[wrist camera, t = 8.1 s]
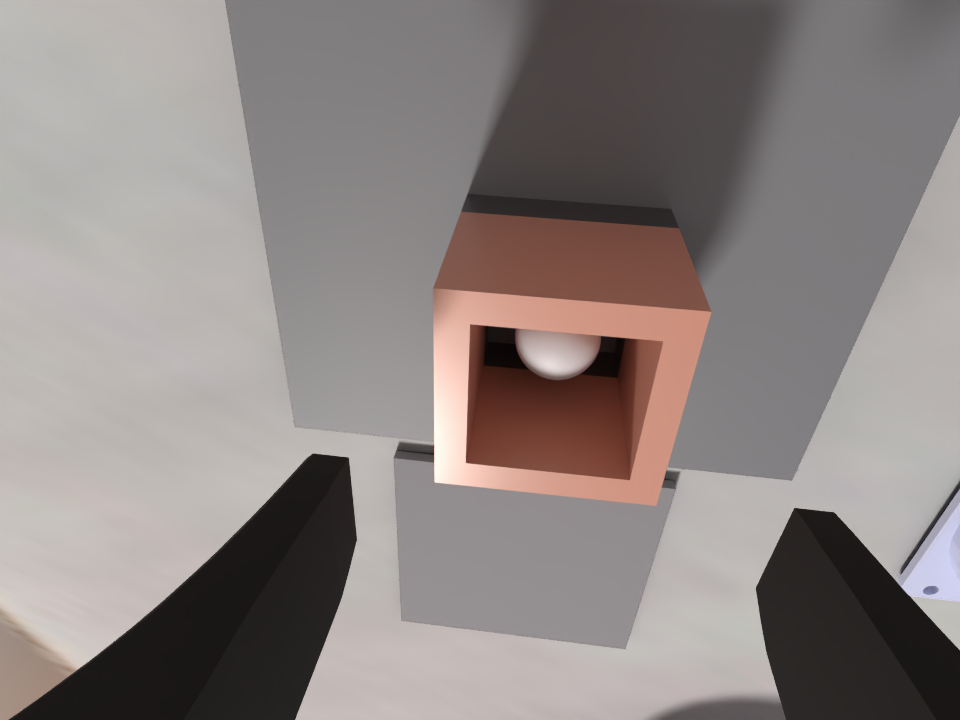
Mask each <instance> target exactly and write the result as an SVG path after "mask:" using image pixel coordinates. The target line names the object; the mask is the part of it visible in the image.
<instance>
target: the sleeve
mask: <svg viewBox="0 0 960 720" xmlns="http://www.w3.org/2000/svg"><path fill="white" fill-rule="evenodd" d="M710 315H711V309H710V307H709V304H708V302H707V299H706V296H705V294H704V291H703V289H702V286H701V284H700V281H699V278H698V276H697V273H696V271H695V268H694V265H693V263H692V260H691V258H690V255H689V253H688V250H687V247H686V245H685V242H684V240H683V237H682V235H681V232H680V229H679V227H678V224H677V222H676V219H675V216H674V214H673V211H672V209H664V208H651V207H637V206H623V205H610V204H596V203H583V202H569V201H556V200H542V199H529V198H515V197H502V196H488V195H474V194H467V197H466V199H465V202H464V205H463V208H462V210H461V213H460V216H459V219H458V221H457V224H456V227H455V230H454V232H453V235H452V238H451V241H450V243H449V246H448V249H447V252H446V254H445V257H444V260H443V263H442V265H441V268H440V271H439V274H438V276H437V279H436V282H435V285H434V287H433V334H434V474H435V483H445V484H454V485H464V486H473V487H482V488H492V489H501V490H511V491H520V492H529V493H539V494H548V495H558V496H567V497H576V498H586V499H595V500H605V501H614V502H623V503H633V504H642V505H652V506H656V505H657V502H658V498H659V495H660V491H661V488H662V484H663V481H664V477H665V474H666V470H667V467H668V463H669V460H670V456H671V452H672V449H673V445H674V442H675V438H676V435H677V431H678V428H679V424H680V421H681V417H682V414H683V410H684V407H685V403H686V400H687V396H688V393H689V389H690V386H691V382H692V379H693V375H694V372H695V368H696V365H697V361H698V357H699V354H700V350H701V347H702V343H703V340H704V336H705V333H706V329H707V326H708V322H709V319H710ZM489 326H495V327H507V328H518V329H529V330H541V331H552V332H563V333H575V334H586V335H597V336H609V337H618V338H617V343H616V348H615V353H609V352H598V354H597V356H596V358H595V360H594V361H593V363H592V364H591V365H590V366H589V367H588V368H587V369H586V370H585V371H584V372H582V373H581V374H579V375H577V376H575V377H573V378H570V379H565V380H550V379H546V378H543V377H541V376H538V375H536V374H535V373H533V372H532V371H531V370H530V369H528V368H527V367H526V365H525V364H524V363H523V362H522V360H521V358H520V356H519V354H518V352H517V348H516V344H509V343H498V342H488V331H489Z"/></svg>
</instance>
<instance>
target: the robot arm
mask: <svg viewBox="0 0 960 720" xmlns="http://www.w3.org/2000/svg"><path fill="white" fill-rule="evenodd" d="M356 541H357V536H356V526H355V516H354V506H353V496H352V486H351V476H350V466H349V458H347V457H338V456H329V455H321V454H312V455H311V456H309V457H308V458H307V459H306V460H305V461H304V462H303V463H302V464H301V465H300V466H299V467H298V468H297V470H296V471H295V472H294V473H293V474H292V475H291V476H290V477H289V478H288V479H287V480H286V482H285V483H284V484H283V485H282V486H281V487H280V488H279V489H278V490H277V491H276V492H275V493H274V494H273V496H272V497H271V498H270V499H269V500H268V501H267V502H266V503H265V504H264V505H263V506H262V507H261V508H260V509H259V510H258V511H257V512H256V513H255V514H254V515H253V516H252V517H251V518H250V519H249V520H248V521H247V522H246V523H245V524H244V525H243V526H242V527H241V528H240V529H239V530H238V531H237V532H236V533H235V534H234V535H233V536H232V537H231V538H230V539H229V540H228V541H227V542H226V543H225V544H224V545H223V546H222V547H221V548H220V549H219V550H218V551H217V552H216V553H215V554H214V555H213V556H212V557H211V558H210V559H209V560H208V561H207V562H206V563H205V564H203V565H202V566H201V567H200V568H199V569H198V570H197V571H196V572H195V573H194V574H192V575H191V576H190V577H189V578H188V579H187V580H186V581H185V582H184V583H183V584H181V585H180V586H179V587H178V588H177V589H176V590H175V591H174V592H173V593H172V594H170V595H169V596H168V597H167V598H166V599H165V600H164V601H163V602H161V603H160V604H159V605H158V606H157V607H156V608H154V609H153V610H152V611H151V612H150V613H149V614H147V615H146V616H145V617H144V618H143V619H142V620H140V621H139V622H138V623H137V624H135V625H134V626H133V627H132V628H131V629H129V630H128V631H127V632H126V633H125V634H123V635H122V636H121V637H119V638H118V639H117V640H116V641H114V642H113V643H112V644H111V645H109V646H108V647H107V648H106V649H104V650H103V651H102V652H101V653H99V654H98V655H97V656H95V657H94V658H93V659H92V660H90V661H89V662H88V663H86V664H85V665H84V666H82V667H81V668H79V669H78V670H77V671H75V672H74V673H73V674H71V675H70V676H69V677H67V678H66V679H65V680H63V681H62V682H61V683H59V684H58V685H57V686H55V687H54V688H53V689H51V690H50V691H49V692H47V693H46V694H44V695H43V696H42V697H40V698H39V699H38V700H36V701H35V702H33V703H32V704H31V705H29V706H28V707H26V708H25V709H23V710H22V711H21V712H19V713H18V714H16V715H15V716H13V717H12V718H10V719H9V720H295V718H296V716H297V713H298V710H299V708H300V705H301V703H302V700H303V697H304V695H305V692H306V690H307V687H308V685H309V682H310V679H311V677H312V674H313V672H314V669H315V666H316V664H317V661H318V659H319V656H320V654H321V651H322V648H323V646H324V643H325V641H326V638H327V635H328V633H329V630H330V627H331V625H332V622H333V619H334V617H335V614H336V612H337V609H338V606H339V604H340V601H341V598H342V595H343V591H344V587H345V584H346V580H347V576H348V572H349V569H350V565H351V561H352V557H353V553H354V549H355V545H356ZM756 592H757V598H758V605H759V612H760V618H761V624H762V630H763V635H764V641H765V646H766V652H767V655H768V659H769V662H770V666H771V670H772V673H773V676H774V680H775V683H776V687H777V690H778V693H779V697H780V700H781V704H782V707H783V710H784V714H785V717H786V720H960V650H959V649H958V648H957V647H956V646H955V645H954V644H953V643H952V642H951V641H950V640H949V639H948V637H947V636H946V635H945V634H944V633H943V632H942V631H941V630H940V629H939V628H938V627H937V626H936V625H935V623H934V622H933V621H932V620H931V619H930V618H929V617H928V616H927V615H926V614H925V613H924V612H923V610H922V609H921V608H920V607H919V606H918V605H917V604H916V603H915V602H914V601H913V599H912V598H911V597H910V596H915V597H923V598H932V599H940V600H949V601H957V602H960V489H959V491H958V492H957V494H956V495H955V497H954V498H953V500H952V501H951V503H950V504H949V506H948V507H947V508H946V510H945V511H944V513H943V514H942V516H941V517H940V519H939V520H938V522H937V523H936V525H935V526H934V528H933V529H932V531H931V532H930V533H929V535H928V536H927V538H926V539H925V541H924V542H923V544H922V545H921V547H920V548H919V550H918V551H917V553H916V554H915V555H914V557H913V558H912V560H911V561H910V563H909V564H908V566H907V567H906V569H905V570H904V572H903V573H902V575H901V576H900V578H899V579H898V582H896V581H895V579H894V578H893V577H892V576H891V575H890V574H889V573H888V572H887V570H886V569H885V568H884V567H883V566H882V565H881V564H880V563H879V561H878V560H877V559H876V558H875V557H874V556H873V555H872V554H871V552H870V551H869V550H868V549H867V548H866V547H865V546H864V545H863V543H862V542H861V541H860V540H859V539H858V538H857V537H856V536H855V535H854V533H853V532H852V531H851V530H850V529H849V528H848V527H847V526H846V525H845V524H844V522H843V521H842V520H841V519H840V518H839V517H838V516H837V515H836V514H835V513H834V512H825V511H816V510H807V509H799V508H794V510H793V512H792V514H791V516H790V518H789V520H788V523H787V525H786V527H785V529H784V531H783V533H782V535H781V537H780V539H779V541H778V543H777V545H776V547H775V549H774V552H773V554H772V556H771V558H770V560H769V562H768V564H767V566H766V568H765V570H764V572H763V574H762V576H761V578H760V581H759V583H758V585H757V587H756Z"/></svg>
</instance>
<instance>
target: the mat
mask: <svg viewBox="0 0 960 720" xmlns="http://www.w3.org/2000/svg"><path fill="white" fill-rule="evenodd" d="M394 474H395V495H396V516H397V537H398V559H399V580H400V601H401V621H407V622H415V623H423V624H431V625H439V626H446V627H454V628H462V629H470V630H478V631H486V632H494V633H502V634H509V635H517V636H525V637H533V638H541V639H549V640H557V641H565V642H573V643H580V644H588V645H596V646H604V647H612V648H620V649H626V646H627V642H628V639H629V636H630V633H631V630H632V626H633V623H634V620H635V617H636V614H637V611H638V607H639V604H640V601H641V598H642V595H643V591H644V588H645V585H646V582H647V579H648V576H649V572H650V569H651V566H652V563H653V560H654V556H655V553H656V550H657V547H658V544H659V541H660V537H661V534H662V531H663V528H664V525H665V521H666V518H667V515H668V512H669V509H670V506H671V502H672V499H673V496H674V493H675V490H676V488H675V483H674V481H670V480H664V481H663V484H662V488H661V491H660V495H659V498H658V502H657V505H656V506H652V505H642V504H633V503H623V502H614V501H605V500H595V499H586V498H576V497H567V496H558V495H548V494H539V493H529V492H520V491H511V490H501V489H492V488H482V487H473V486H464V485H454V484H445V483H435V474H434V455H432V454H423V453H413V452H404V451H396V453H395V456H394Z"/></svg>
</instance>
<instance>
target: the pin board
mask: <svg viewBox="0 0 960 720" xmlns="http://www.w3.org/2000/svg"><path fill="white" fill-rule="evenodd" d="M225 3H226V9H227V15H228V21H229V27H230V34H231V40H232V46H233V52H234V58H235V64H236V70H237V76H238V82H239V89H240V95H241V101H242V107H243V113H244V119H245V125H246V131H247V138H248V144H249V150H250V156H251V162H252V168H253V174H254V180H255V186H256V193H257V199H258V205H259V211H260V217H261V223H262V229H263V235H264V242H265V248H266V254H267V260H268V266H269V272H270V278H271V284H272V290H273V297H274V303H275V309H276V315H277V321H278V327H279V333H280V339H281V345H282V352H283V358H284V364H285V370H286V376H287V382H288V388H289V394H290V401H291V407H292V413H293V419H294V425H295V427H299V428H308V429H318V430H327V431H336V432H346V433H355V434H364V435H373V436H383V437H392V438H401V439H411V440H420V441H429V442H434V334H433V287H434V285H435V282H436V279H437V276H438V274H439V271H440V268H441V265H442V263H443V260H444V257H445V254H446V252H447V249H448V246H449V243H450V241H451V238H452V235H453V232H454V230H455V227H456V224H457V221H458V219H459V216H460V213H461V210H462V208H463V205H464V202H465V199H466V197H467V194H474V195H488V196H502V197H515V198H529V199H542V200H556V201H569V202H583V203H596V204H610V205H623V206H637V207H651V208H664V209H672V211H673V214H674V216H675V219H676V222H677V224H678V227H679V229H680V232H681V235H682V237H683V240H684V242H685V245H686V247H687V250H688V253H689V255H690V258H691V260H692V263H693V265H694V268H695V271H696V273H697V276H698V278H699V281H700V284H701V286H702V289H703V291H704V294H705V296H706V299H707V302H708V304H709V307H710V309H711V315H710V319H709V322H708V326H707V329H706V333H705V336H704V340H703V343H702V347H701V350H700V354H699V357H698V361H697V365H696V368H695V372H694V375H693V379H692V382H691V386H690V389H689V393H688V396H687V400H686V403H685V407H684V410H683V414H682V417H681V421H680V424H679V428H678V431H677V435H676V438H675V442H674V445H673V449H672V452H671V456H670V460H669V463H668V467H671V468H680V469H689V470H699V471H708V472H717V473H726V474H736V475H745V476H754V477H764V478H773V479H782V480H791V481H792V479H793V477H794V475H795V473H796V471H797V468H798V466H799V464H800V462H801V460H802V457H803V455H804V453H805V451H806V449H807V447H808V444H809V442H810V440H811V438H812V436H813V433H814V431H815V429H816V427H817V425H818V423H819V420H820V418H821V416H822V414H823V412H824V410H825V407H826V405H827V403H828V401H829V399H830V396H831V394H832V392H833V390H834V388H835V386H836V383H837V381H838V379H839V377H840V375H841V373H842V370H843V368H844V366H845V364H846V362H847V359H848V357H849V355H850V353H851V351H852V349H853V346H854V344H855V342H856V340H857V338H858V335H859V333H860V331H861V329H862V327H863V325H864V322H865V320H866V318H867V316H868V314H869V312H870V309H871V307H872V305H873V303H874V301H875V298H876V296H877V294H878V292H879V290H880V288H881V285H882V283H883V281H884V279H885V277H886V274H887V272H888V270H889V268H890V266H891V264H892V261H893V259H894V257H895V255H896V253H897V251H898V248H899V246H900V244H901V242H902V240H903V237H904V235H905V233H906V231H907V229H908V227H909V224H910V222H911V220H912V218H913V216H914V214H915V211H916V209H917V207H918V205H919V203H920V200H921V198H922V196H923V194H924V192H925V190H926V187H927V185H928V183H929V181H930V179H931V176H932V174H933V172H934V170H935V168H936V166H937V163H938V161H939V159H940V157H941V155H942V153H943V150H944V148H945V146H946V144H947V142H948V139H949V137H950V135H951V133H952V131H953V129H954V126H955V124H956V122H957V120H958V118H959V115H960V0H225ZM617 338H618V337H609V336H597V335H586V334H575V333H563V332H552V331H541V330H529V329H518V328H507V327H495V326H489V331H488V342H498V343H509V344H516V348H517V352H518V354H519V356H520V358H521V360H522V362H523V363H524V364H525V365H526V367H527V368H528V369H530V370H531V371H532V372H533V373H535V374H536V375H538V376H541V377H543V378H546V379H550V380H565V379H570V378H573V377H575V376H577V375H579V374H581V373H582V372H584V371H585V370H586V369H587V368H588V367H589V366H590V365H591V364H592V363H593V361H594V360H595V358H596V356H597V354H598V352H609V353H615V348H616V343H617Z"/></svg>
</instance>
